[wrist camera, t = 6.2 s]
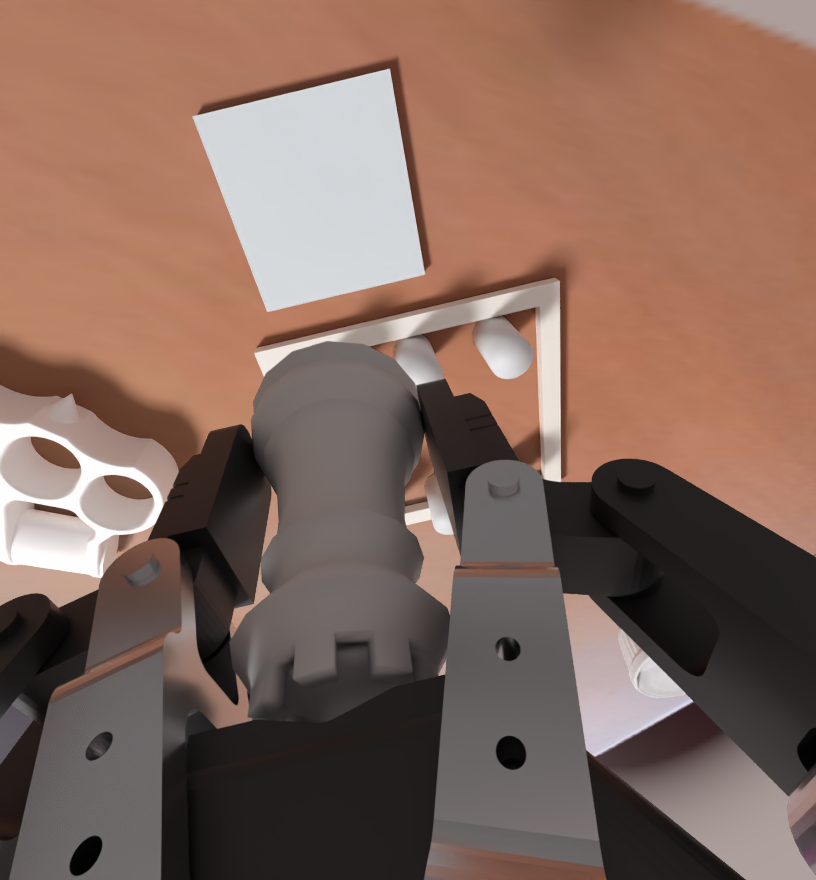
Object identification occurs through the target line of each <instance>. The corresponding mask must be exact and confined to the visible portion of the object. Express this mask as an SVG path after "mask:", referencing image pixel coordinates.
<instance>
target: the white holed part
mask: <svg viewBox="0 0 816 880" xmlns="http://www.w3.org/2000/svg"><path fill="white" fill-rule="evenodd" d="M31 436H35V437H42V438H46V439H50V440H52V441H55V442H57V443H59V444H61V445H63V446H64V447H66V448H67V449H68V450H70V451H71V452H72V453H73V454H74V455H75V457H76V458H77V459H78V461H79V463H80V466H81V468H79V469H69V468H63V467H59V466H56V465H54V464H52V463H50V462H48V461H46V460H45V459H44V458H42V457H41V456H40V455H39V454H38V453H37V452H36V450H35V449H34V447H33V445H32V442H31ZM178 472H179V470H178V467H177V464H176V462H175V460H174V458H173V457H172V455H171V454H170V453H169V452H168V451H167V450H166V449H165V448H164V447H163V446H162V445H161V444H159V443H158V442H156V441H155V440H153V439H146V438H137V437H132V436H129V435H125V434H123V433H120V432H118V431H116V430H114V429H112V428H111V427H109V426H108V425H106V424H105V423H103V422H102V421H101V420H100V419H99V418H98V417H97V416H96V415H95V414H94V413H93V412H92V411H90V410H88V409H85V408H83V407H81V406H79V405H76V403H75V401H74V398H73V395H72V394H70V395H68V396H66V397H65V398H61V397H59V396H50V397H36V396H29V395H25V394H21V393H18V392H15V391H12V390H10V389H8V388H5V387H3V386H2V385H0V561H2V562H4V563H7V564H11V565H18V564H23V565H29V566H36V567H43V568H49V569H56V570H62V571H69V572H76V573H82V574H89V575H91V576H92V577H98V578H102V576H103V574H104V573H105V571H106V570H107V569H108V567H109V566H110V565H111V564H112V563H113V562H114V560H115V556H116V553H117V549H118V543H119V535H125V534H133V533H137V532H141V531H143V530H146V529H148V528H150V527H151V526H153V525H154V524H155V523H156V521H157V519H158V517H159V514H160V512H161V510H162V508H163V506H164V503H165V502H166V501H167V497H168V495H169V492H170V490H171V489H172V488H173V483H174V481H175V479H176V477H177V475H178ZM105 475H121V476H125V477H129V478H132V479H134V480H136V481H138V482H140V483H141V484H143V485H144V486H145V487H146V488H147V489H148V490H149V491H150V492H151V494H152V496H153V497H151V498H148V499H131V498H127V497H124V496H122V495H120V494H118V493H116V492H115V491H113V490H112V489H111V488H110V487H109V486H108V485H107V483H106V482H105V480H104V476H105ZM34 503H37V504H42V505H48V506H53V507H58V508H64V509H68V510H71V511H73V512H74V513H75V514H77V516H78V517H74V516H68V515H63V514H57V513H52V512H46V511H41V510H35V509H34Z"/></svg>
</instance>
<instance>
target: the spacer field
mask: <svg viewBox="0 0 816 880" xmlns="http://www.w3.org/2000/svg"><path fill="white" fill-rule="evenodd" d="M534 307H535V313H536V340H537V367H538V394H539V421H540V448H541V474H542V475H540V476H541V477H542V479H546V480H550V481H556V482H561V408H560V281H559V280H557V279H556V278H550V279H546V280H542V281H537V282H533V283H529V284H525V285H521V286H516V287H512V288H508V289H504V290H499V291H495V292H491V293H487V294H482V295H478V296H474V297H470V298H465V299H461V300H457V301H453V302H449V303H444V304H440V305H436V306H432V307H427V308H423V309H419V310H415V311H410V312H406V313H402V314H398V315H393V316H389V317H385V318H381V319H377V320H372V321H368V322H364V323H360V324H355V325H351V326H347V327H343V328H338V329H334V330H330V331H326V332H322V333H317V334H313V335H309V336H305V337H300V338H296V339H292V340H288V341H283V342H279V343H275V344H271V345H266V346H262V347H258V348H256V350H255V352H254V354H255V356H256V359H257V361H258V363H259V366H260V368H261V371H262V373H263V375H264V377H265V374H266V373H267V372H268V371H269V370H270V369H272V368H273V367H274V366H275V365H276V364H278V363H279V362H280V361H281V360H282V359H284V358H285V357H286V356H287V355H288V354H290V353H291V352H292V351H295V350H299V349H302V348H305V347H309V346H312V345H315V344H319V343H322V342H325V341H333V342H346V343H358V344H365V345H367V346H373V345H377V344H382V343H386V342H390V341H394V340H398V341H397V342H396V344H395V346H394V359H395V360H396V362H397V363H398V364H399V365H400V366H401V367H402V369H403V370H404V371H405V372H406V373H407V374H408V376H409V377H410V378H411V379H412V380H413V381H414V383H415V385H419V384H423V383H427V382H432V381H436V380H441V379H444V375H443V371H442V369H441V367H440V364H439V362H438V360H437V357H436V355H435V353H434V350H433V348H432V346H431V343H430V342H429V340H428V339H427V338H426V337H425V336H423V335H421V334H424V333H428V332H433V331H437V330H441V329H445V328H450V327H454V326H458V325H462V324H467V323H471V322H475V321H478V322H477V324H476V325H475V327H474V330H473V341H474V343H475V345H476V347H477V348H478V350H479V351H480V353H481V354H482V356H483V357H484V359H485V360H486V362H487V363H488V365H489V367H490V368H491V370H492V371H493V373H494V374H495V375H497V376H498V377H500V378H503V379H512V378H516V377H518V376H520V375H522V374H523V373H524V372H525V371H526V370H527V369H528V368H529V366H530V365H531V363H532V360H533V350H532V347H531V346H530V344H529V343H528V342H527V341H526V340H525V339H524V338H523V336H522V335H521V334H520V333H519V332H518V331H517V330H516V329H515V328H514V327H513V326H512V325H511V323H510V322H509V321H508V320H507V319H506V318H505V317H503V316H501V315H505V314H509V313H513V312H517V311H522V310H526V309H530V308H534ZM416 389H417V388H416ZM425 492H426V496H427V500H428V501H426V502H422V503H417V504H413V505H409V506H405V523H406V525H409V524H414V523H418V522H422V521H427V520H431V519H432V522H433V526H434V528H435V530H436V531H437V532H439V533H441V534H445V535H450V534H454V533H453V530H452V526H451V523H450V520H449V517H448V514H447V510H446V507H445V504H444V501H443V497H442V494H441V491H440V488H439V484H438V481H437V478H436V475H435V474H433V475H431V476H430V477H429V478H428V479H427V480H426V482H425Z"/></svg>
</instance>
